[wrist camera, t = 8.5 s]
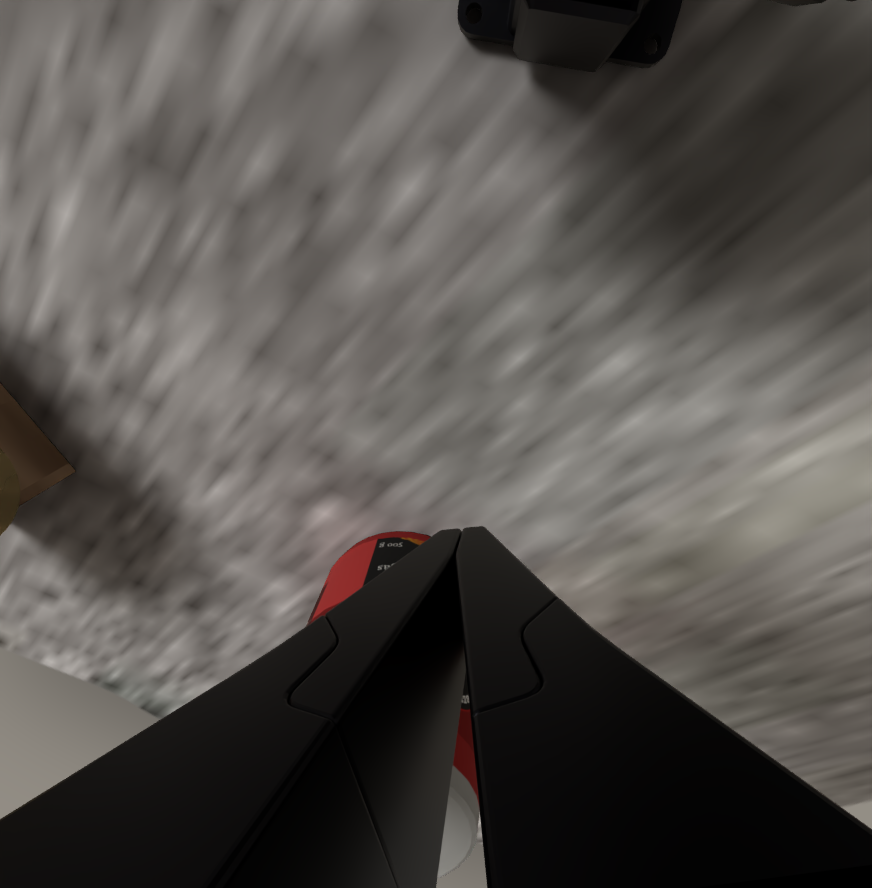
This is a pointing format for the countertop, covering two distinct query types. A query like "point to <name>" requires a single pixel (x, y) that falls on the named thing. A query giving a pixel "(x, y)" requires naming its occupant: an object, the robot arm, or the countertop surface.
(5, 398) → the mount
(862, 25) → the countertop surface
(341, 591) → the canned food
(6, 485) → the knob
